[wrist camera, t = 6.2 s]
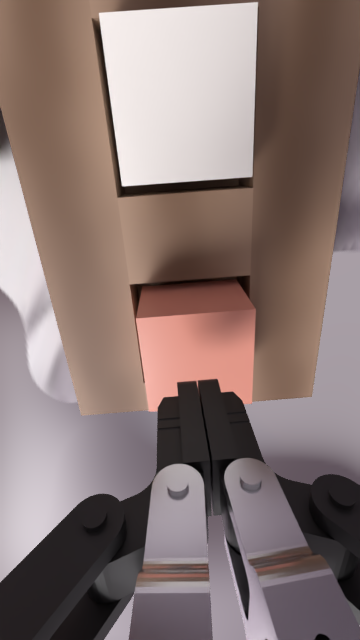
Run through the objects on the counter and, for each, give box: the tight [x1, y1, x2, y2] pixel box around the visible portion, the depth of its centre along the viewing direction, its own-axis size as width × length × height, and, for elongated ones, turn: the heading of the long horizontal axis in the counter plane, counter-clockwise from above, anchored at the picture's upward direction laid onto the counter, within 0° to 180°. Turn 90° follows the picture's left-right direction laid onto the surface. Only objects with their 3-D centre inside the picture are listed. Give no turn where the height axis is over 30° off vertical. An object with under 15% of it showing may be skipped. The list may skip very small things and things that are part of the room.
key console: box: [0, 0, 360, 415], centre depth 16 cm, size 14×20×4 cm
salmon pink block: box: [136, 279, 256, 412], centre depth 16 cm, size 5×5×4 cm
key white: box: [99, 2, 258, 186], centre depth 13 cm, size 5×5×4 cm
